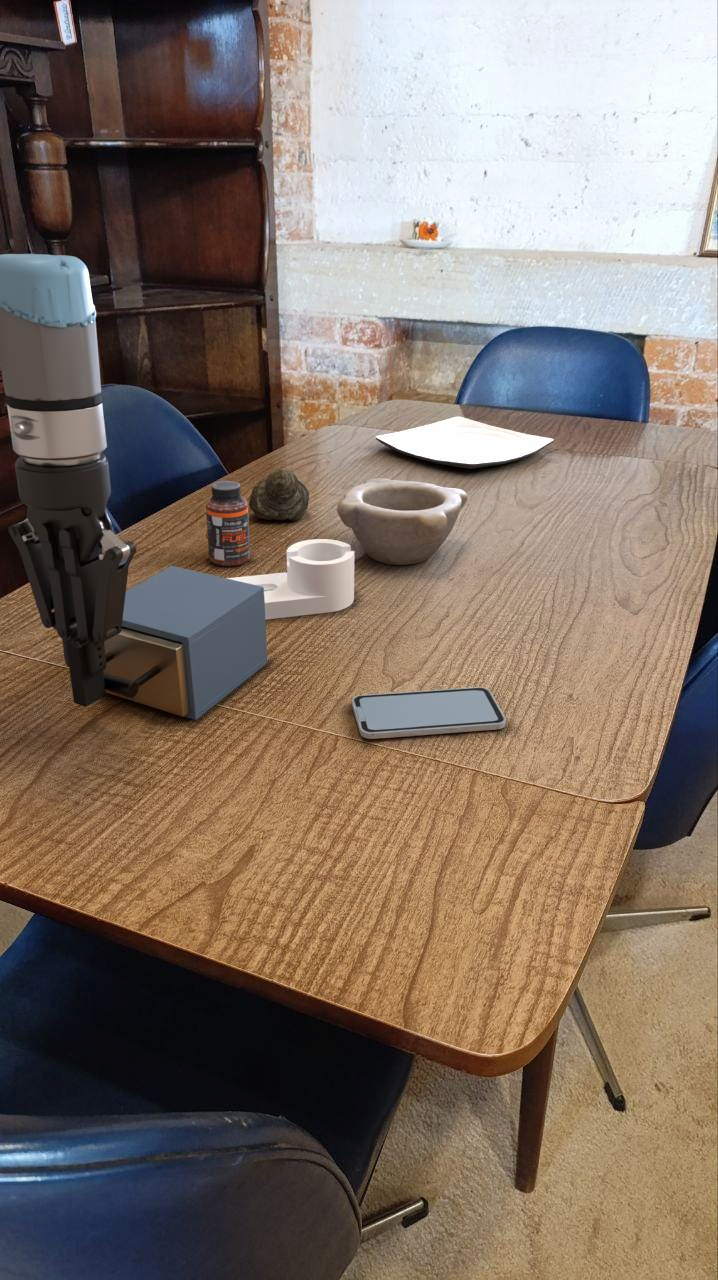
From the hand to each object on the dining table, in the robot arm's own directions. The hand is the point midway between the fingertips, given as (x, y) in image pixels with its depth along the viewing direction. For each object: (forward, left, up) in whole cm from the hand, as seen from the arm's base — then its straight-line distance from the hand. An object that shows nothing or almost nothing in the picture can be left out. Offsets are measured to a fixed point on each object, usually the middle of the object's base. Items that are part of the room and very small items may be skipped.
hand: (89, 698), depth 84 cm
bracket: (-1, +35, -5) cm, 36 cm away
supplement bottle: (-15, +44, -5) cm, 47 cm away
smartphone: (+27, +19, -5) cm, 34 cm away
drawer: (0, +10, -4) cm, 11 cm away
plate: (-6, +114, -5) cm, 115 cm away
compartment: (0, +14, -5) cm, 15 cm away
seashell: (-19, +65, -5) cm, 68 cm away
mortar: (+6, +58, -5) cm, 59 cm away
